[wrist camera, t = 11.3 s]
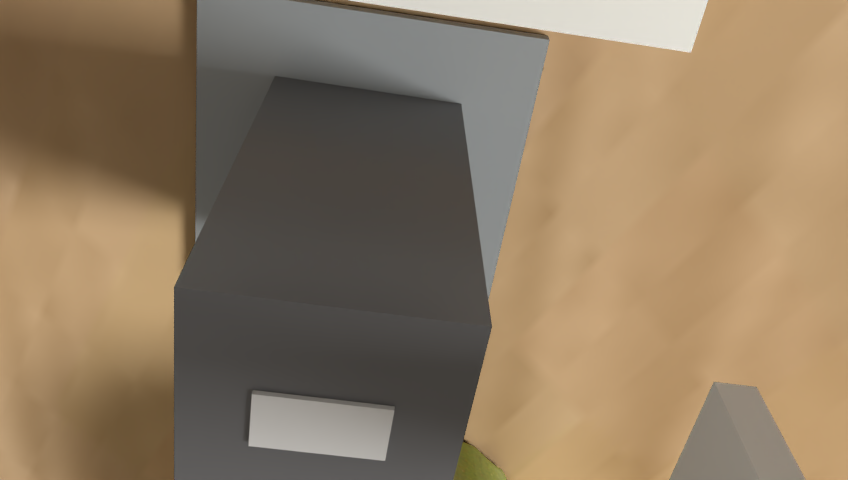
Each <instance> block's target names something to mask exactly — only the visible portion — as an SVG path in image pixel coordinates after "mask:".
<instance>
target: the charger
mask: <svg viewBox="0 0 848 480" xmlns="http://www.w3.org/2000/svg"><path fill="white" fill-rule="evenodd" d="M491 328H492V324H491V317H490V310H489V302H488V295H487V288H486V280H485V273H484V266H483V259H482V251H481V244H480V237H479V229H478V222H477V215H476V207H475V200H474V193H473V185H472V178H471V171H470V163H469V156H468V149H467V142H466V134H465V127H464V120H463V112H462V105H461V104H459V103H452V102H446V101H439V100H432V99H426V98H419V97H412V96H406V95H399V94H392V93H386V92H379V91H372V90H366V89H359V88H352V87H346V86H339V85H332V84H326V83H319V82H312V81H306V80H299V79H292V78H286V77H279V76H275V77H274V79H273V81H272V83H271V86H270V88H269V90H268V92H267V94H266V96H265V98H264V100H263V102H262V104H261V106H260V109H259V111H258V113H257V115H256V117H255V119H254V121H253V123H252V125H251V127H250V129H249V132H248V134H247V136H246V138H245V140H244V142H243V144H242V146H241V148H240V150H239V152H238V155H237V157H236V159H235V161H234V163H233V165H232V167H231V169H230V171H229V173H228V175H227V178H226V180H225V182H224V184H223V186H222V188H221V190H220V192H219V194H218V196H217V198H216V201H215V203H214V205H213V207H212V209H211V211H210V213H209V215H208V217H207V219H206V221H205V224H204V226H203V228H202V230H201V232H200V234H199V236H198V238H197V240H196V242H195V244H194V247H193V249H192V251H191V253H190V255H189V257H188V259H187V261H186V263H185V265H184V268H183V270H182V272H181V274H180V276H179V278H178V280H177V282H176V284H175V286H174V480H453V479H454V475H455V471H456V467H457V463H458V459H459V455H460V451H461V447H462V443H463V439H464V435H465V431H466V427H467V423H468V419H469V415H470V411H471V408H472V404H473V400H474V396H475V392H476V388H477V384H478V380H479V376H480V372H481V368H482V364H483V360H484V356H485V352H486V348H487V344H488V340H489V336H490V332H491Z"/></svg>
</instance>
